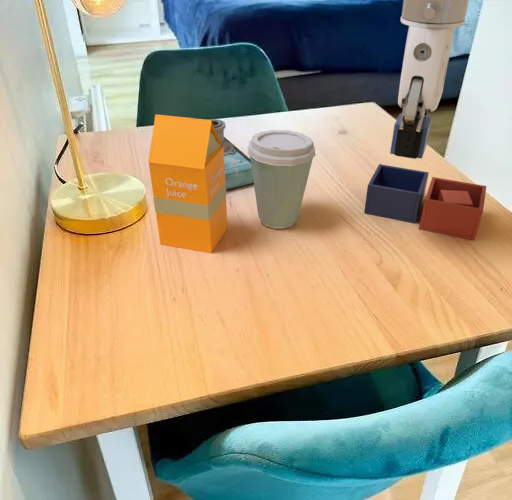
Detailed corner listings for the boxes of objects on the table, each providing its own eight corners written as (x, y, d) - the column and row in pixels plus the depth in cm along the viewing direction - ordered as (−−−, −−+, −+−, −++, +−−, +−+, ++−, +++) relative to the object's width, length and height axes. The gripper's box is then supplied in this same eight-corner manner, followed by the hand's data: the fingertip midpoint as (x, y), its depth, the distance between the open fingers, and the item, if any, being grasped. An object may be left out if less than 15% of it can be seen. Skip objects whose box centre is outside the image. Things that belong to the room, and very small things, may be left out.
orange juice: (179, 219, 87) (166, 105, 75) (228, 227, 84) (222, 110, 73) (159, 244, 80) (141, 124, 69) (211, 254, 78) (202, 131, 67)
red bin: (478, 214, 87) (486, 185, 84) (474, 240, 81) (483, 210, 77) (426, 204, 90) (432, 176, 87) (418, 229, 83) (424, 199, 80)
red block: (461, 213, 86) (467, 191, 84) (466, 227, 83) (473, 204, 80) (435, 212, 87) (440, 189, 84) (438, 225, 83) (444, 202, 81)
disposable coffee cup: (257, 201, 92) (256, 121, 83) (316, 208, 89) (321, 127, 81) (241, 232, 83) (238, 147, 74) (305, 241, 81) (310, 154, 72)
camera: (256, 137, 91) (204, 148, 88) (256, 184, 97) (208, 196, 93) (219, 109, 103) (173, 117, 100) (222, 152, 109) (178, 162, 105)
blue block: (426, 146, 73) (432, 117, 71) (421, 158, 70) (427, 128, 67) (395, 142, 75) (400, 113, 72) (389, 153, 71) (394, 123, 69)
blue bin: (423, 199, 91) (428, 172, 88) (415, 223, 85) (421, 194, 82) (375, 190, 94) (379, 163, 91) (364, 213, 88) (367, 185, 85)
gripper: (460, 26, 54) (428, 179, 65) (471, 0, 67) (442, 131, 77) (389, 21, 56) (369, 169, 67) (413, -4, 69) (393, 124, 80)
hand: (409, 147), depth 72 cm, fingers closed on blue block, 4 cm apart
